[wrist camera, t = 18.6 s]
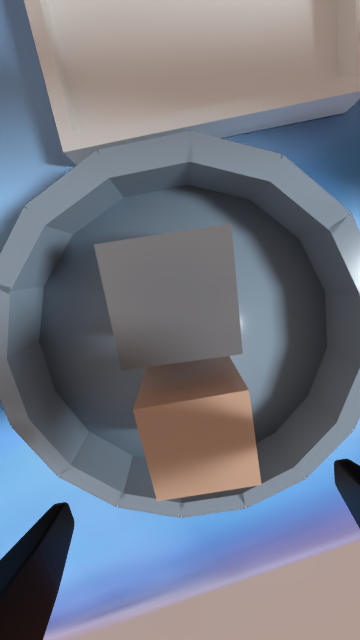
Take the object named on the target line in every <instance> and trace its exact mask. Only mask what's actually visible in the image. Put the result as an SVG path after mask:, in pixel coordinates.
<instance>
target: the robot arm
mask: <svg viewBox="0 0 360 640" xmlns="http://www.w3.org/2000/svg"><path fill="white" fill-rule="evenodd" d="M334 475H335V484H336V486H337V489H338V491H339V492H340V494H341V496H342V498H343V499H344V501H345V503H346V505H347V507H348V508H349V510H350V512H351V514H352V516H353V517H354V519H355V521H356V523H357V524H358V526H359V528H360V466H359V465H358V464H356V463H354V462H353V461H351V460H349V459H342V460H336V461H335V462H334ZM73 530H74V518H73V516H72V513H71V510H70V507H69V505H68V503H66V502H64V503H57V504H54V505H53V506H52V507H51V508H50V509H49V510H48V511H47V512H46V513H45V514H44V515H43V516H42V517H41V518H40V519H39V520H38V521H37V522H36V523H35V525H34V526H33V527H32V528H31V529H30V530H29V531H28V532H27V533H26V534H25V535H24V536H23V537H22V538H21V539H20V540H19V541H18V542H17V543H16V544H15V545H14V546H13V547H12V548H11V549H10V551H9V552H8V553H7V554H6V555H5V556H4V557H3V558H2V559H1V560H0V640H43V637H44V634H45V631H46V628H47V625H48V622H49V619H50V616H51V613H52V610H53V607H54V603H55V600H56V597H57V594H58V590H59V586H60V583H61V579H62V575H63V571H64V567H65V563H66V559H67V555H68V551H69V546H70V542H71V538H72V534H73Z"/></svg>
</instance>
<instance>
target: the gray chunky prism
mask: <svg viewBox="0 0 360 640" xmlns="http://www.w3.org/2000/svg"><path fill="white" fill-rule="evenodd" d="M94 247H95V252H96V257H97V261H98V266H99V270H100V275H101V279H102V284H103V289H104V293H105V298H106V302H107V307H108V311H109V316H110V320H111V325H112V330H113V334H114V339H115V343H116V348H117V352H118V357H119V362H120V366H121V371H123V370H131V369H138V368H145V367H152V366H160V365H167V364H174V363H181V362H189V361H196V360H203V359H211V358H218V357H225V356H232V355H240V354H243V350H242V339H241V327H240V316H239V305H238V293H237V282H236V271H235V260H234V248H233V237H232V226H231V223H230V224H224V225H217V226H211V227H204V228H198V229H191V230H185V231H178V232H172V233H165V234H159V235H152V236H146V237H139V238H132V239H126V240H119V241H113V242H106V243H100V244H94Z"/></svg>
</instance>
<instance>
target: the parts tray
mask: <svg viewBox="0 0 360 640" xmlns="http://www.w3.org/2000/svg"><path fill="white" fill-rule="evenodd" d="M24 3H25V7H26V11H27V15H28V19H29V22H30V26H31V30H32V34H33V38H34V42H35V46H36V50H37V53H38V57H39V61H40V65H41V69H42V73H43V77H44V80H45V84H46V88H47V92H48V96H49V100H50V104H51V107H52V111H53V115H54V119H55V123H56V127H57V131H58V134H59V138H60V142H61V146H62V150H63V153H64V154H65V155H66V156H67V157H68V158H69V159H70V160H71V161H72V162H73V163H74V164H75V165H76V166H77V165H78V164H79V163H81V162H82V161H83V160H85V159H86V158H87V157H88V156H90V155H91V154H92V153H94V152H95V151H97V152H98V150H99V149H104V148H109V147H114V146H118V145H123V144H128V143H133V142H138V141H143V140H148V139H152V138H157V137H162V136H167V135H172V134H177V133H182V132H186V131H190V136H191V133H192V131H194V132H198V133H202V134H206V135H210V136H214V137H218V138H224V137H229V136H233V135H238V134H243V133H248V132H253V131H258V130H263V129H268V128H273V127H278V126H283V125H287V124H292V123H297V122H302V121H307V120H312V119H317V118H322V117H327V116H332V115H337V114H341V113H346V112H347V111H348V110H349V109H350V108H351V107H352V106H353V105H354V104H355V103H356V102H357V101H358V100H360V0H24ZM98 154H99V152H98Z"/></svg>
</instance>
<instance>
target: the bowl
mask: <svg viewBox="0 0 360 640" xmlns="http://www.w3.org/2000/svg"><path fill="white" fill-rule="evenodd" d="M98 152H99V154H98ZM98 152H97V151H95V152H94V153H92V154H91V155H90V156H88V157H87V158H86V159H85V160H83V161H82V162H81V163H79V164H78V165H77V166H75V167H74V168H73V169H72V170H70V171H69V172H68V173H66V174H65V175H64V176H62V177H61V178H60V179H58V180H57V181H56V182H55V183H53V184H52V185H51V186H49V187H48V188H47V189H45V190H44V191H43V192H42V193H40V194H39V195H38V196H36V197H35V198H34V199H32V200H31V201H30V202H29V203H27V204H26V205H25V206H26V207H27V208H26V207H24V208H23V210H22V212H21V213H20V215H19V217H18V219H17V221H16V223H15V225H14V227H13V229H12V231H11V233H10V235H9V237H8V239H7V241H6V243H5V245H4V247H3V249H2V251H1V253H0V400H1V403H2V405H3V408H4V410H5V413H6V415H7V418H8V420H9V423H10V425H13V426H12V428H13V429H14V430H15V431H16V432H17V433H18V435H19V436H20V437H21V438H22V439H23V440H24V441H25V442H26V443H27V444H28V445H29V446H30V447H31V448H32V450H33V451H34V452H35V453H36V454H37V455H38V456H39V457H40V458H41V459H42V460H43V461H44V462H45V463H46V465H47V466H48V467H49V468H50V469H51V470H52V471H53V472H54V473H55V474H56V475H57V476H58V475H59V478H61V479H63V480H65V481H67V482H69V483H71V484H73V485H75V486H77V487H79V488H81V489H82V490H84V491H86V492H88V493H90V494H92V495H94V496H96V497H98V498H100V499H102V500H104V501H106V502H107V503H109V504H111V505H113V506H115V507H117V505H118V508H124V509H130V510H136V511H142V512H148V513H154V514H160V515H166V516H173V517H179V518H181V515H182V518H185V517H191V516H198V515H205V514H212V513H218V512H225V511H232V510H239V509H245V506H246V507H247V508H248V507H250V506H252V505H254V504H256V503H258V502H260V501H262V500H264V499H266V498H268V497H270V496H272V495H274V494H276V493H278V492H280V491H282V490H284V489H286V488H288V487H290V486H292V485H294V484H296V483H298V482H300V481H303V480H305V478H307V477H308V476H309V475H310V474H311V473H312V472H313V471H314V470H315V469H316V468H317V467H318V466H319V465H320V464H321V463H322V462H323V461H324V460H325V459H326V458H327V457H328V456H329V455H330V454H331V453H332V452H333V451H334V450H335V449H336V448H337V447H338V446H339V445H340V444H341V443H342V442H343V441H344V440H345V439H346V438H347V437H348V436H349V435H350V434H351V433H352V432H353V430H352V429H355V427H356V424H357V422H358V420H359V418H360V231H359V229H358V227H357V224H356V222H355V220H354V218H353V215H352V213H351V214H349V213H350V211H349V210H348V209H347V208H345V207H344V206H343V205H342V204H341V203H340V202H338V201H337V200H336V199H335V198H334V197H333V196H331V195H330V194H329V193H328V192H327V191H326V190H324V189H323V188H322V187H321V186H320V185H319V184H317V183H316V182H315V181H314V180H313V179H311V178H310V177H309V176H308V175H307V174H306V173H304V172H303V171H302V170H301V169H300V168H299V167H297V166H296V165H295V164H294V163H293V162H292V161H290V160H289V159H288V158H287V157H286V156H285V155H283V156H282V154H280V153H276V152H273V151H269V150H265V149H261V148H257V147H253V146H249V145H245V144H241V143H237V142H233V141H230V140H226V139H222V138H218V137H214V136H210V135H206V134H202V133H198V132H194V131H192V133H191V136H190V131H186V132H182V133H177V134H172V135H167V136H162V137H157V138H152V139H148V140H143V141H138V142H133V143H128V144H123V145H118V146H114V147H109V148H104V149H99V150H98ZM281 156H282V157H281ZM230 223H231V226H232V237H233V248H234V260H235V271H236V282H237V293H238V305H239V316H240V327H241V339H242V350H243V354H240V355H232V356H230V358H231V360H232V362H233V363H234V365H235V367H236V368H237V370H238V372H239V374H240V375H241V377H242V379H243V381H244V382H245V384H246V386H247V387H248V389H249V394H250V402H251V409H252V417H253V424H254V432H255V440H256V447H257V455H258V462H259V470H260V477H261V485H258V486H251V487H245V488H239V489H232V490H226V491H220V492H214V493H207V494H201V495H195V496H188V497H182V498H176V499H169V500H163V501H157V499H156V495H155V492H154V488H153V484H152V480H151V477H150V473H149V469H148V465H147V461H146V458H145V454H144V450H143V446H142V442H141V439H140V435H139V431H138V427H137V424H136V420H135V416H134V412H133V408H134V405H135V402H136V399H137V396H138V392H139V389H140V386H141V383H142V380H143V377H144V374H145V370H146V367H145V368H138V369H131V370H123V371H121V366H120V362H119V357H118V352H117V348H116V343H115V339H114V334H113V330H112V325H111V320H110V316H109V311H108V307H107V302H106V298H105V293H104V289H103V284H102V279H101V275H100V270H99V266H98V261H97V257H96V252H95V247H94V244H100V243H106V242H113V241H119V240H126V239H132V238H139V237H146V236H152V235H159V234H165V233H172V232H178V231H185V230H191V229H198V228H204V227H211V226H217V225H224V224H230ZM304 477H305V478H304Z"/></svg>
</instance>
